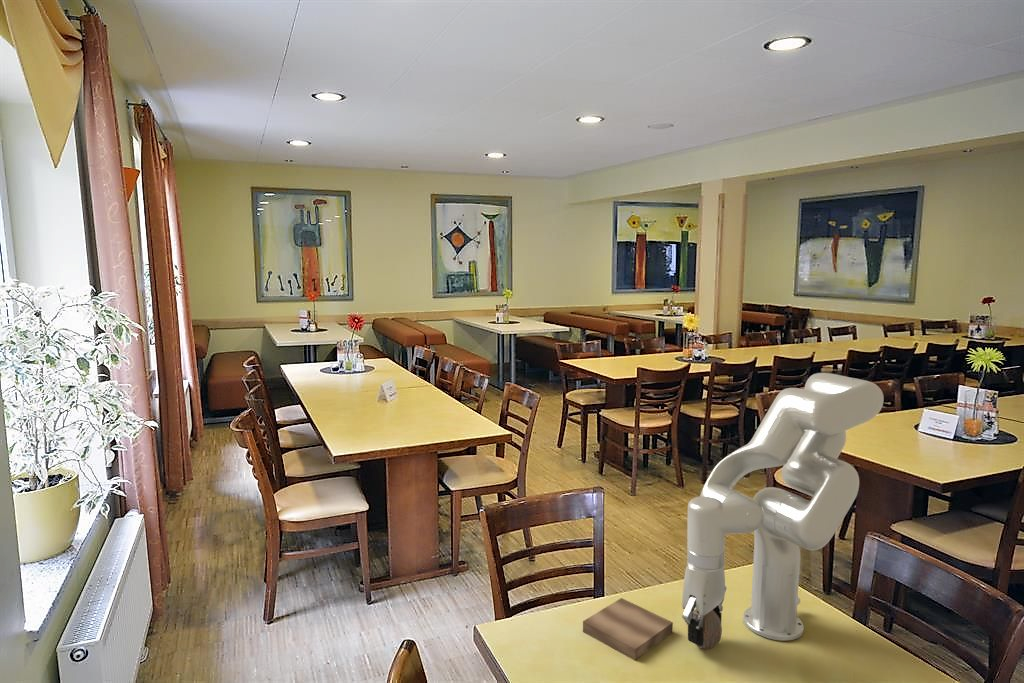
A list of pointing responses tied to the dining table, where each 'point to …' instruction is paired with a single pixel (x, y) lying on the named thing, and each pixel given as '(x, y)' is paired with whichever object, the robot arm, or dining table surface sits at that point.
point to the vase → (710, 629)
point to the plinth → (628, 628)
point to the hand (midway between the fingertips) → (704, 634)
